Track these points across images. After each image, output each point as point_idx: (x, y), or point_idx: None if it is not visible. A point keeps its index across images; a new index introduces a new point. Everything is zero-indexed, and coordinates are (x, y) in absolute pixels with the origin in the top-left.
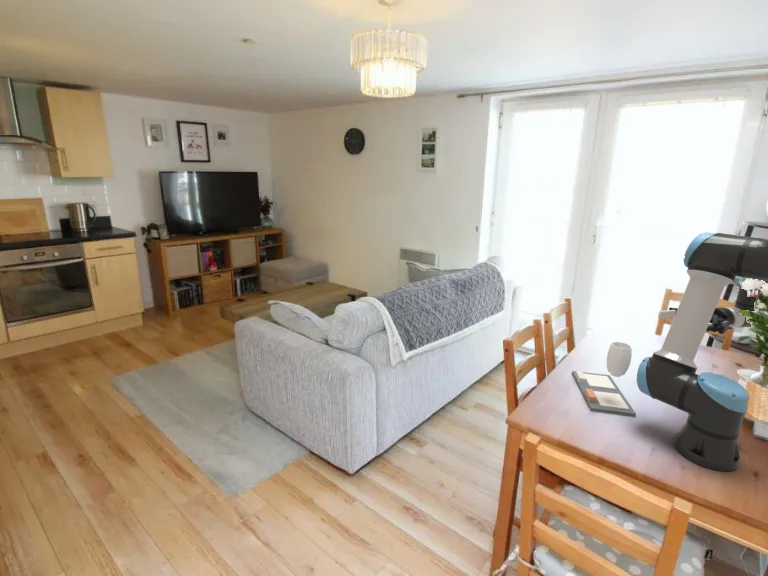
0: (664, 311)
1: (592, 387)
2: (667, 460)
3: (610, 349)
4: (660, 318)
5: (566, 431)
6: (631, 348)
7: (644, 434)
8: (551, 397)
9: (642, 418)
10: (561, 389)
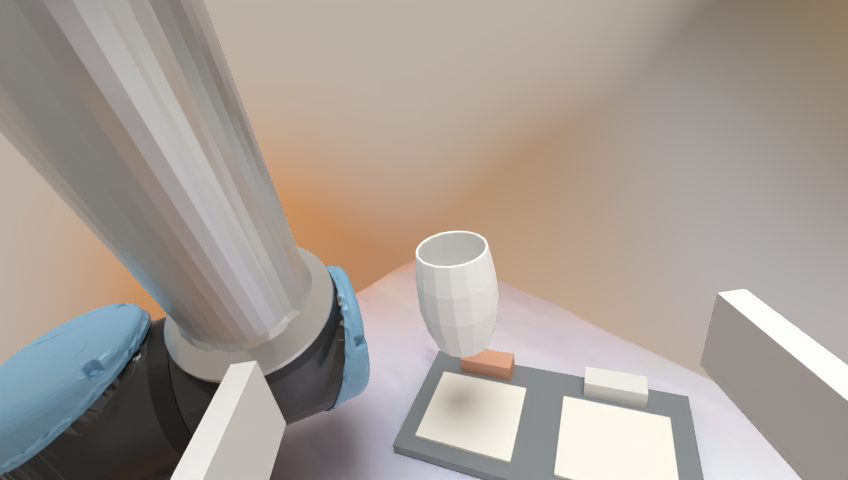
0: (757, 329)
1: (557, 404)
2: None
3: (459, 245)
4: (708, 373)
5: (383, 297)
6: (421, 263)
7: (323, 422)
8: (504, 309)
9: (383, 469)
10: (549, 338)
